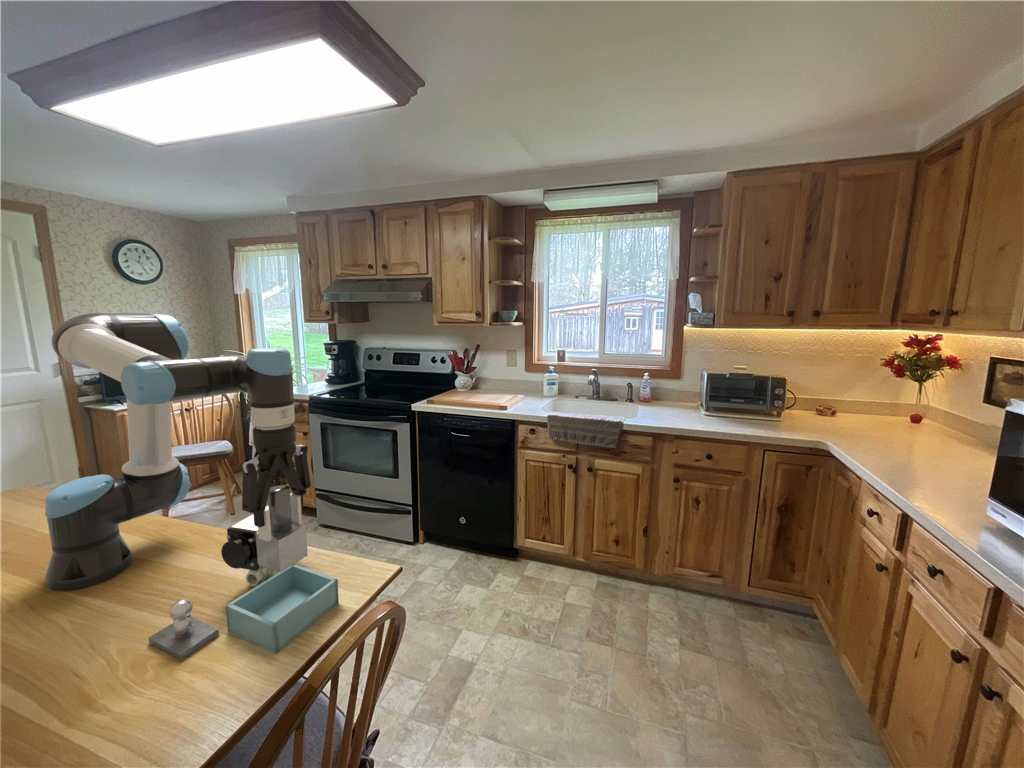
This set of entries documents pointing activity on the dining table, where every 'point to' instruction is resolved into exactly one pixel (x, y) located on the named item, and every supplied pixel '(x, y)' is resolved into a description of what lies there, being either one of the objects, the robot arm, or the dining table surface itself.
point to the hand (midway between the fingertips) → (281, 530)
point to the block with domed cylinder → (281, 534)
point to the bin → (282, 607)
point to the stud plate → (184, 643)
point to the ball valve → (245, 551)
